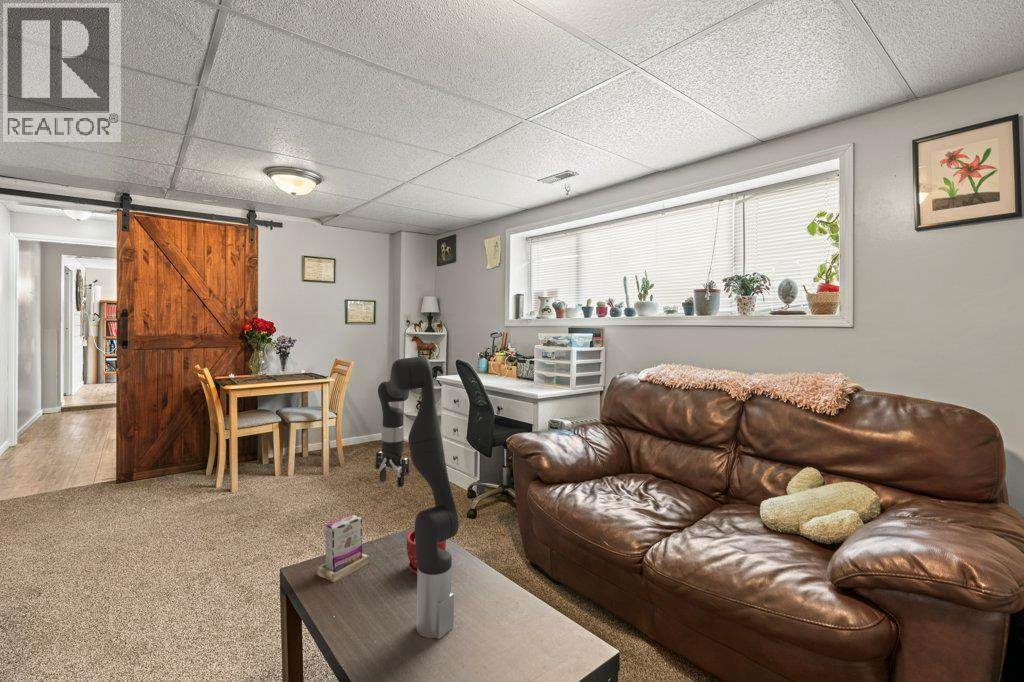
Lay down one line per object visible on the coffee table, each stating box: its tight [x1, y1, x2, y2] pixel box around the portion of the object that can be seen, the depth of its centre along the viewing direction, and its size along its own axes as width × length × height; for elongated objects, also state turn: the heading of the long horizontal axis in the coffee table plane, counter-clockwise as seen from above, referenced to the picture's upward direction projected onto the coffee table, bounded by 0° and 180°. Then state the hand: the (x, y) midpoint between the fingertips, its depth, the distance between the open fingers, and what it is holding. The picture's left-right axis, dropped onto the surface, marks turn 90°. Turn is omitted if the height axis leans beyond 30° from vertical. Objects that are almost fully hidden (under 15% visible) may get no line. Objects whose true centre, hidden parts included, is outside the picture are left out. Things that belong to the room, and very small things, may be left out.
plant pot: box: [406, 529, 447, 575], centre depth 160 cm, size 13×13×12 cm
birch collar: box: [316, 552, 370, 583], centre depth 159 cm, size 8×14×2 cm, turn 149°
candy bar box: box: [324, 514, 363, 573], centre depth 159 cm, size 11×5×16 cm, turn 143°
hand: (391, 484), depth 166 cm, fingers open, 8 cm apart
